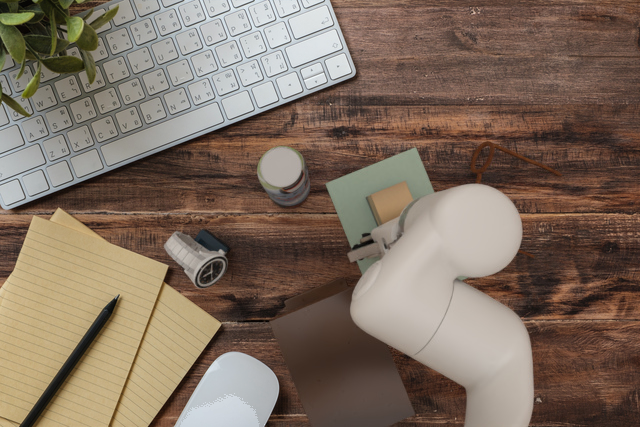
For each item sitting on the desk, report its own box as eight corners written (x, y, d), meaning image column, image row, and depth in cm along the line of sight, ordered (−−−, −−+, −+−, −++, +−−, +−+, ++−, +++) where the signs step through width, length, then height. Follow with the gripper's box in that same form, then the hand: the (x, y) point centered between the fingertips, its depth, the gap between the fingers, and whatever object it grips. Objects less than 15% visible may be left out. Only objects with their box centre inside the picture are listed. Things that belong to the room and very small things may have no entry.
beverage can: (284, 217, 67) (280, 215, 55) (253, 175, 68) (243, 163, 56) (320, 191, 68) (324, 183, 56) (289, 149, 68) (287, 132, 56)
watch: (217, 287, 67) (201, 299, 56) (171, 252, 67) (146, 256, 56) (242, 256, 67) (231, 261, 56) (197, 220, 67) (177, 218, 56)
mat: (468, 277, 68) (469, 277, 68) (378, 314, 68) (378, 315, 67) (415, 147, 69) (416, 147, 68) (325, 183, 68) (325, 183, 68)
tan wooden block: (429, 262, 68) (440, 265, 63) (397, 276, 67) (405, 279, 62) (397, 184, 68) (405, 180, 63) (365, 197, 68) (370, 194, 63)
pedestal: (381, 360, 67) (415, 414, 47) (315, 388, 67) (322, 455, 47) (343, 267, 68) (362, 283, 48) (277, 294, 67) (268, 322, 47)
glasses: (476, 143, 69) (490, 136, 64) (560, 173, 69) (580, 169, 64) (447, 229, 68) (458, 229, 63) (532, 259, 69) (550, 262, 64)
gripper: (371, 297, 48) (352, 280, 65) (526, 232, 49) (467, 232, 66) (343, 228, 48) (331, 229, 65) (498, 165, 49) (447, 182, 66)
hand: (400, 230), depth 66 cm, fingers open, 9 cm apart
